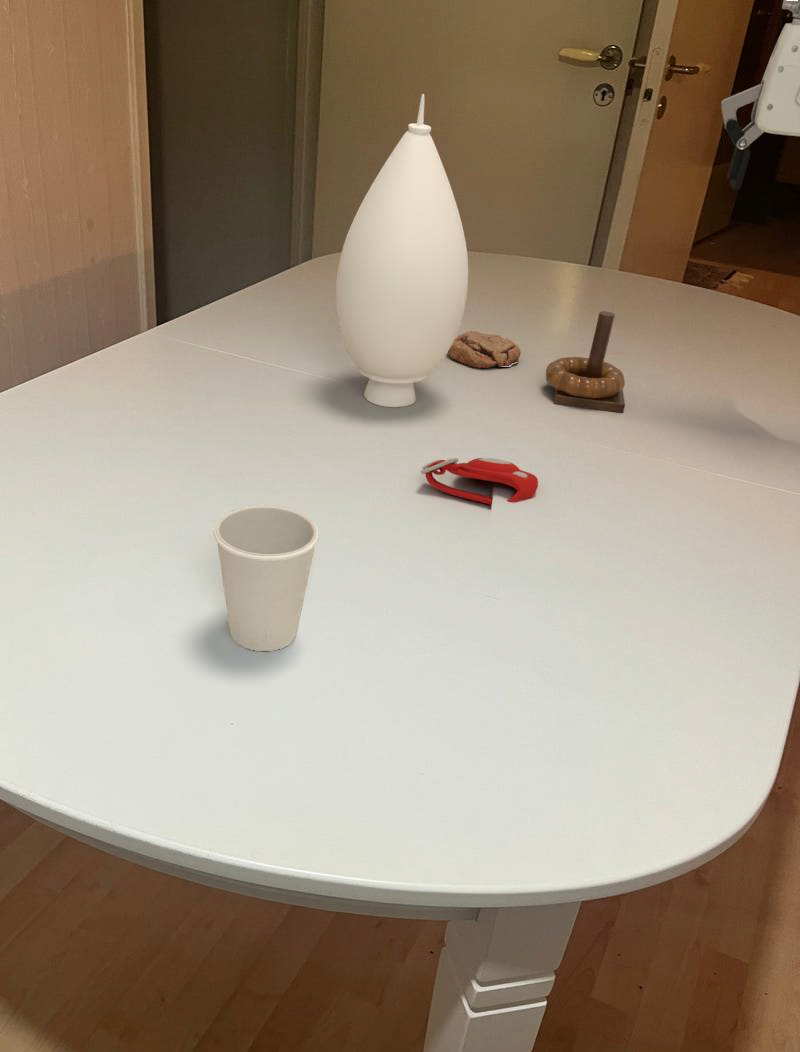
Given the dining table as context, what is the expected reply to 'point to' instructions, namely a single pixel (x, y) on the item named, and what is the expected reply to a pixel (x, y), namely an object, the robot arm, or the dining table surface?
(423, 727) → the dining table surface
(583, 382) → the ring
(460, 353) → the cookie
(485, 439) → the dining table surface
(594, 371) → the peg
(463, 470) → the tracker holder
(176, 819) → the dining table surface
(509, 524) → the dining table surface
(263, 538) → the dixie cup
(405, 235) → the lamp
